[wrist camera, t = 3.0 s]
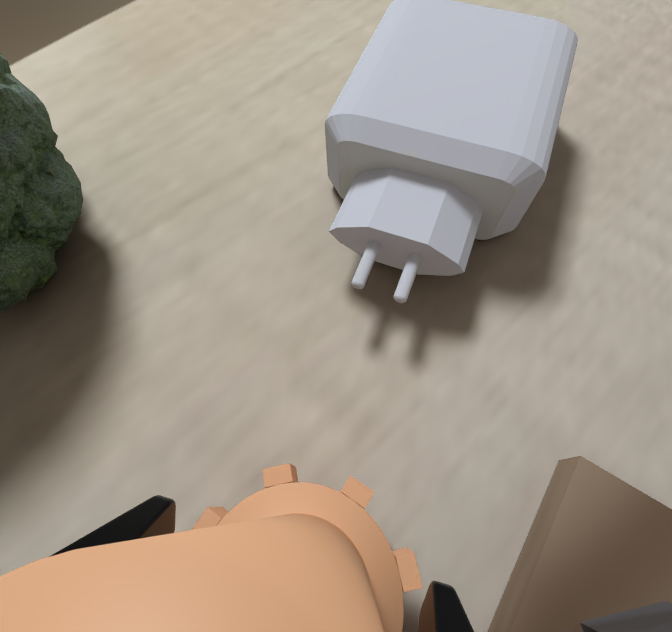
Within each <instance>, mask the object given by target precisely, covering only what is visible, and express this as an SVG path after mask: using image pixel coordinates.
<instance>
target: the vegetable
mask: <svg viewBox="0 0 672 632" xmlns="http://www.w3.org/2000/svg"><path fill="white" fill-rule="evenodd" d="M57 137H58V135H57V134H56V133H55V132H54V131H53V129H52V126H51V122H50V118H49V114H48V112H47V110H46V108H45V106H44V104H43V103H42V102H41V101H40V99H39V98H38V97H37V96H36V95H35V94H34V93H33V92H32V91H30V90H29V89H28V88H27V87H25V86H24V85H23V84H22V83H21V82H20V81H19V80H17V79H16V78H15V77H14V76H13V75H12V74H11V70H10V67H9V64H8V61H7V60H6V59H5V58H4V57H3V56H2V55H1V54H0V311H4V310H6V309H8V308H9V307H11V306H12V305H14V304H15V303H16V302H19V301H26V299H27V296H28V293H29V291H32V290H34V289H36V288H38V287H40V288H42V287H43V286H44V285H45V284H46V283H47V282H48V280H49V279H50V278H51V277H52V276H53V275H54V273H55V272H56V271H57V267H56V263H55V259H54V254H55V251H56V249H57V248H60V247H61V246H62V245H63V244H64V243H65V242H66V241H67V238H68V237H69V236H70V235H71V232H72V229H73V225H74V223H75V222H76V220H77V218H78V217H79V215H80V213H81V208H82V203H83V197H82V191H81V182H80V181H79V179H78V177H77V175H76V173H75V172H74V170H73V168H72V166H71V165H70V164H69V163H68V162H66V161H65V159H64V156H63V154H62V153H61V151H59V150H58V149H57V148H56V147H55V145H56V141H57Z"/></svg>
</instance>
